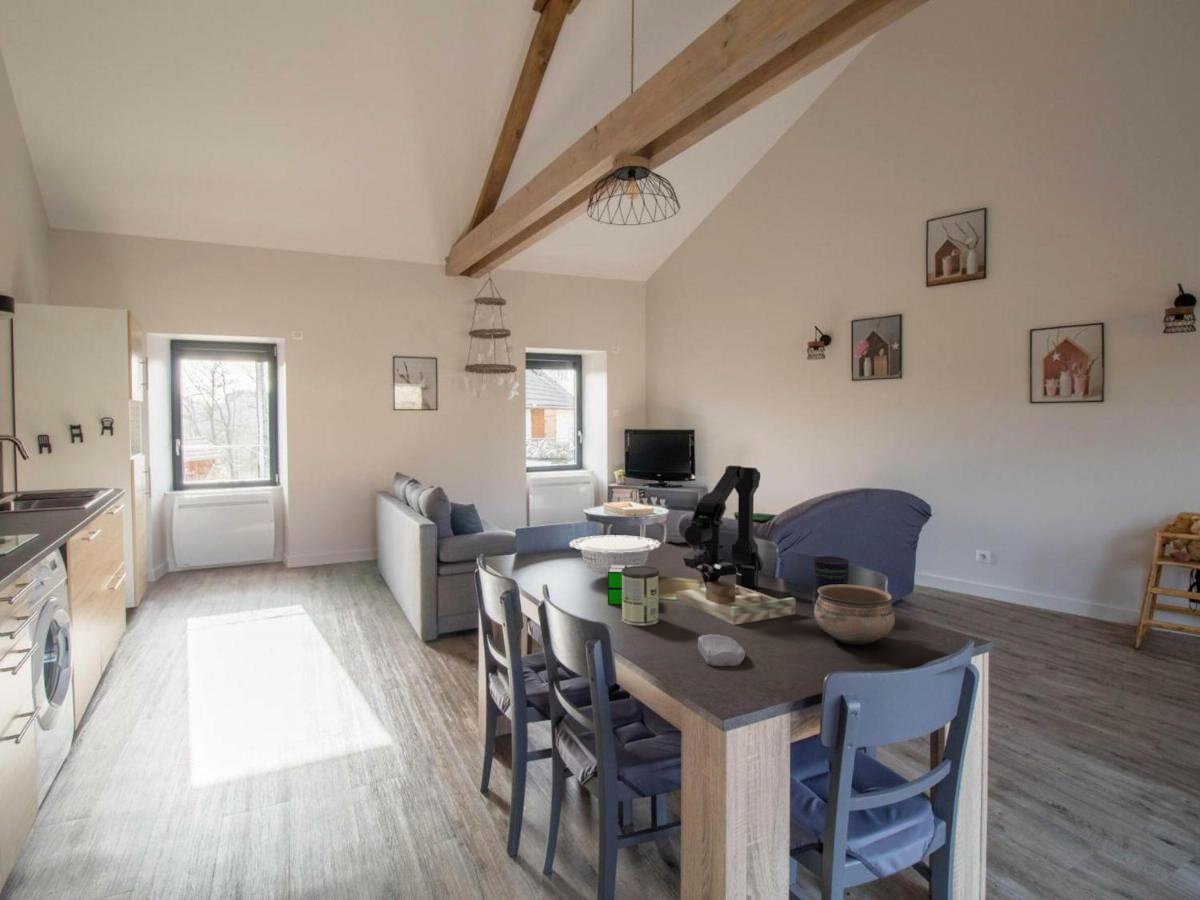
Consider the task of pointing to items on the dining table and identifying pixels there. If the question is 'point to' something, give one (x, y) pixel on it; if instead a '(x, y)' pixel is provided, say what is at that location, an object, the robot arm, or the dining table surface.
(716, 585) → the walnut block
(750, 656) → the dining table surface
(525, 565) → the dining table surface
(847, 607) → the cooking pot
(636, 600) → the coffee can
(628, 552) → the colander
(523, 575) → the dining table surface
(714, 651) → the stone block
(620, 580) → the puzzle cube
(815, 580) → the storage jar
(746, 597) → the trap deck
